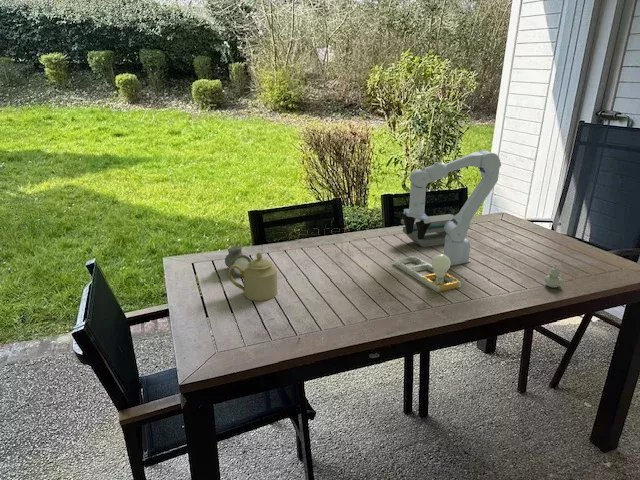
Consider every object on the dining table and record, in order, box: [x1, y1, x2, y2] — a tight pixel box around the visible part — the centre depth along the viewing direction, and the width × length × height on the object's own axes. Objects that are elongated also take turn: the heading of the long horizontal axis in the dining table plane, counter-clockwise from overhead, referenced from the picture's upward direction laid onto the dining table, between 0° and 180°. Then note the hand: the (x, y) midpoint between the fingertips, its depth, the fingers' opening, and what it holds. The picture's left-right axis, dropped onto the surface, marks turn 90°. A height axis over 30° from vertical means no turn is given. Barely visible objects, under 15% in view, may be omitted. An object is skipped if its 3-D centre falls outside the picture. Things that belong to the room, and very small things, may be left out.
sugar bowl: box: [227, 252, 278, 302], centre depth 146 cm, size 15×11×15 cm
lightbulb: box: [431, 253, 452, 285], centre depth 153 cm, size 6×6×11 cm
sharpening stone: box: [400, 213, 455, 248], centre depth 195 cm, size 25×8×11 cm, turn 109°
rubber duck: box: [544, 265, 564, 289], centre depth 151 cm, size 5×7×8 cm
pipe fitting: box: [224, 245, 252, 278], centre depth 167 cm, size 12×8×10 cm
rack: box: [393, 255, 462, 293], centre depth 162 cm, size 10×27×2 cm, turn 23°
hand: (415, 236), depth 172 cm, fingers open, 7 cm apart
